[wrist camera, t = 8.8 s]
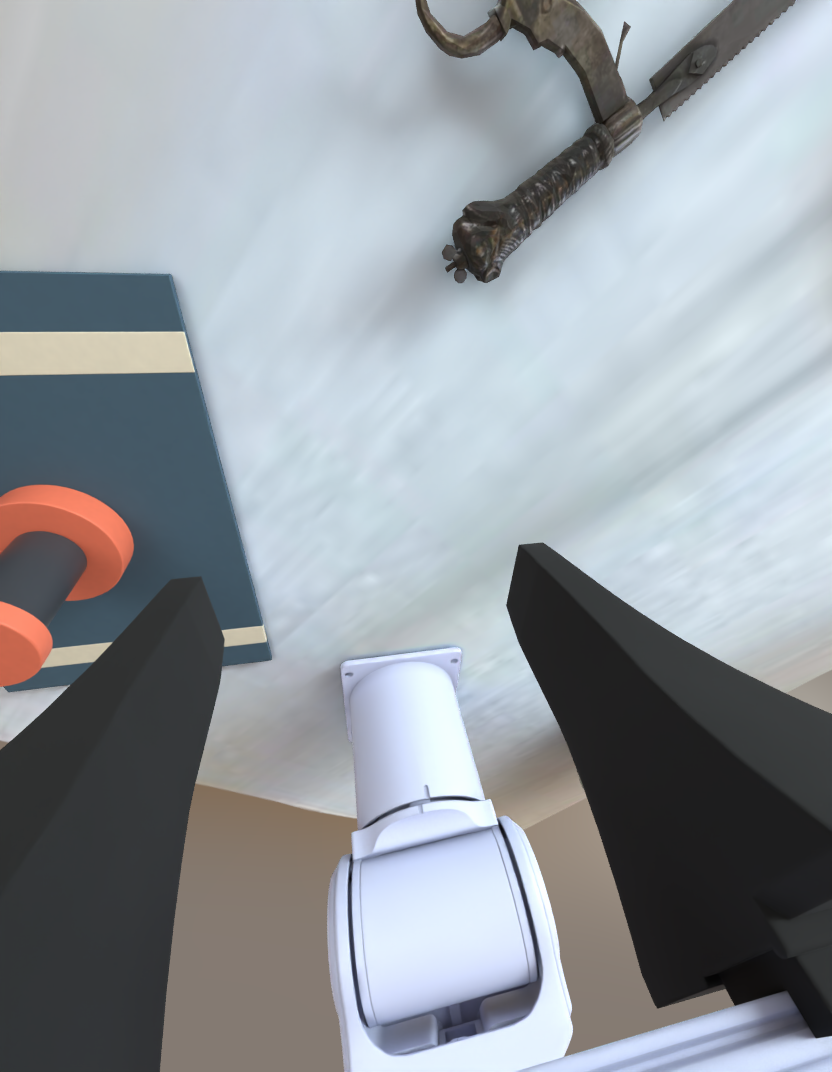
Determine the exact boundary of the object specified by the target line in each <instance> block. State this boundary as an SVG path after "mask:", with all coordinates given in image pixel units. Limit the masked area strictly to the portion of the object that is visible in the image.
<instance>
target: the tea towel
mask: <svg viewBox="0 0 832 1072" xmlns="http://www.w3.org/2000/svg"><path fill="white" fill-rule="evenodd" d="M30 485H55V486H61V487H67V488H70V489H74V490H77V491H80V492H83V493H85V494H88V495H90V496H92V497H94V498H96V499H98V500H99V501H101V502H103V503H104V504H106V505H107V506H109V507H110V508H111V509H112V510H114V511H115V512H116V513H117V514H118V515H119V516H120V517H121V518H122V519H123V521H124V522H125V523H126V525H127V526H128V528H129V530H130V532H131V535H132V538H133V543H134V551H133V555H132V558H131V560H130V562H129V564H128V566H127V567H126V569H125V571H124V573H123V575H122V577H121V578H120V580H119V581H118V583H117V584H116V585H115V586H114V587H113V588H112V589H110V590H109V591H107V592H105V593H103V594H101V595H99V596H96V597H93V598H89V599H84V600H75V601H64V603H63V604H62V606H61V607H60V609H59V610H58V612H57V614H56V615H55V617H54V618H53V620H52V621H51V623H50V624H49V626H48V627H47V629H48V630H49V632H50V634H51V637H52V641H53V646H52V650H51V652H50V654H49V656H48V657H47V659H46V661H45V662H44V664H43V665H42V667H41V669H40V670H39V671H38V672H37V673H36V674H35V675H34V676H33V677H31V678H30V679H28V680H26V681H24V682H21V683H18V684H14V685H9V686H3V687H4V688H5V689H6V690H7V691H8V692H15V691H23V690H31V689H39V688H47V687H56V686H64V685H71V684H72V683H73V682H74V681H75V680H76V679H77V678H78V677H79V676H80V675H82V674H83V673H84V672H85V671H86V670H87V669H88V668H89V667H90V666H91V665H92V664H93V663H94V662H95V661H96V660H97V658H98V657H99V656H100V655H101V654H102V653H103V652H104V651H105V650H106V649H107V648H108V647H109V646H110V645H111V644H112V643H113V642H114V640H115V639H116V638H117V637H118V636H119V635H120V634H121V633H122V632H123V631H124V630H125V629H126V628H127V626H128V625H129V624H130V623H131V622H132V621H133V620H134V619H135V618H136V617H137V616H138V614H139V613H140V612H141V611H142V610H143V609H144V608H145V607H146V606H147V605H148V603H149V602H150V601H151V600H152V599H153V598H154V597H155V596H156V595H157V594H158V592H159V591H160V590H161V589H162V588H163V587H164V586H165V585H166V584H167V583H168V582H169V581H170V580H171V579H178V578H188V577H199V576H201V577H202V580H203V582H204V585H205V588H206V590H207V593H208V596H209V598H210V601H211V604H212V606H213V609H214V612H215V614H216V617H217V620H218V622H219V625H220V628H221V630H222V633H223V636H224V638H225V643H224V653H223V663H222V666H228V665H237V664H245V663H253V662H261V661H269V660H272V655H271V652H270V648H269V644H268V640H267V636H266V632H265V629H264V625H263V621H262V617H261V613H260V610H259V606H258V602H257V598H256V594H255V591H254V587H253V583H252V579H251V575H250V572H249V568H248V564H247V560H246V556H245V553H244V549H243V545H242V541H241V537H240V534H239V530H238V526H237V522H236V518H235V515H234V511H233V507H232V503H231V499H230V496H229V492H228V488H227V484H226V480H225V477H224V473H223V469H222V465H221V461H220V458H219V454H218V450H217V446H216V442H215V439H214V435H213V431H212V427H211V423H210V420H209V416H208V412H207V408H206V404H205V401H204V397H203V393H202V389H201V385H200V382H199V378H198V374H197V370H196V366H195V363H194V359H193V355H192V351H191V347H190V344H189V340H188V336H187V332H186V328H185V325H184V321H183V317H182V313H181V309H180V306H179V302H178V298H177V294H176V290H175V287H174V283H173V279H172V275H171V274H140V273H85V272H31V271H0V497H1V496H3V495H4V494H5V493H7V492H9V491H11V490H14V489H16V488H20V487H24V486H30Z"/></svg>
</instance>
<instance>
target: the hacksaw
mask: <svg viewBox="0 0 832 1072" xmlns="http://www.w3.org/2000/svg"><path fill="white" fill-rule="evenodd" d="M415 1H416V7H417V14H418V16H419V18H420V20H421V23H422V25H423V27H424V29H425V31H426V33H427V34H428V35H429V36H430V38H431V39H432V40H433V41H434V43H435V44H436V45H437V46H438V47H439V48H440V49H441V50H442V51H444V52H445V53H446V54H448V55H449V56H452V57H457V58H467V57H472V56H477V55H480V54H482V53H483V52H484V51H486V50H487V49H489V48H490V47H491V46H493V45H494V44H496V43H497V42H498V41H499V40H500V41H502V39H503V38H504V37H505V36H506V35H507V33H508V30H509V29H511V28H514V29H516V30H518V31H519V32H521V33H523V34H524V35H525V36H526V38H527V40H528V41H529V43H530V45H531V47H532V48H533V50H535V49H537V48H539V47H541V46H542V47H544V48H546V49H548V50H550V51H552V52H554V53H555V54H556V55H557V57H558V58H560V57H561V56H562V55H563V56H564V57H565V58H566V60H567V61H568V62H569V64H570V65H571V66H572V68H573V69H574V70H575V72H576V73H577V75H578V77H579V78H580V81H581V84H582V86H583V89H584V92H585V95H586V97H587V100H588V103H589V105H590V108H591V111H592V113H593V116H594V119H595V122H596V123H595V124H593V125H592V126H591V127H589V128H588V129H587V130H586V132H585V134H584V136H583V137H582V138H580V139H579V140H577V141H576V142H574V143H573V144H572V146H570V147H568V148H567V149H565V150H564V151H563V152H562V153H561V154H560V155H559V156H558V157H556V158H554V159H553V160H552V161H550V162H549V163H548V164H547V165H546V166H544V167H543V168H542V169H540V170H538V172H537V173H536V174H535V175H533V176H532V177H530V178H529V179H527V180H526V181H524V182H523V183H522V184H521V185H519V186H518V188H517V189H516V190H515V191H514V192H512V193H511V194H509V195H508V196H506V197H505V198H503V199H500V200H496V201H474V202H472V203H470V204H468V205H467V206H466V207H465V208H464V209H463V210H462V211H463V216H462V217H461V218H459V219H458V220H457V221H456V222H455V223H454V224H453V231H452V236H453V240H454V244H455V248H456V250H457V251H456V250H455V249H454V247H453V246H452V245H446V246H445V248H444V249H443V251H442V254H443V258H444V259H446V260H449V261H451V260H452V259H453V261H454V262H453V263H451V264H450V265H448V266H447V267H445V269H446V271H447V272H449V271H450V270H452V269H453V268H455V267H456V268H457V270H456V271H455V274H454V278H455V281H457V282H458V283H463V282H464V281H465V279H466V276H467V272H466V271H465V268H467V269H468V271H469V272H471V273H472V274H474V275H475V277H476V279H477V280H478V281H482V282H484V283H488V282H490V281H492V280H494V279H495V278H497V277H499V275H500V272H501V267H502V264H503V262H504V260H505V259H506V258H507V257H508V256H509V255H510V254H511V253H512V252H513V251H514V250H516V249H517V248H518V246H519V245H520V244H521V243H522V242H523V241H524V240H525V239H526V238H527V237H529V236H530V235H531V233H532V231H533V230H535V229H537V228H538V227H540V226H541V224H542V222H543V221H545V220H546V219H547V218H548V217H550V216H551V215H552V214H553V212H554V211H555V210H556V209H557V208H558V207H559V206H560V205H562V203H563V202H564V201H565V200H566V199H568V198H569V197H570V196H571V195H573V194H574V193H575V192H577V190H578V189H579V188H580V187H581V186H582V185H583V184H584V183H586V182H587V181H588V180H589V179H590V178H591V177H593V176H594V175H595V174H596V173H597V172H598V170H602V169H604V168H605V167H607V166H608V165H609V163H610V162H611V160H612V158H613V157H615V156H616V155H617V154H619V153H620V152H621V151H623V150H624V149H625V148H626V147H627V146H629V145H630V144H631V143H632V142H633V141H634V140H635V139H636V138H637V137H638V136H639V134H640V132H641V129H642V124H643V119H644V118H645V117H646V116H647V115H648V114H649V113H651V112H652V111H653V110H654V109H655V108H656V107H657V106H659V109H660V112H661V115H662V118H663V120H664V121H665V119H666V117H670V115H671V113H672V111H676V110H677V108H678V106H682V105H683V103H684V101H685V100H688V99H689V97H690V95H694V94H695V92H696V90H697V89H701V87H702V85H703V84H704V83H707V82H708V80H709V78H713V77H714V75H715V73H716V72H720V70H721V68H722V66H726V65H727V63H728V61H730V60H733V58H734V56H735V55H738V54H739V53H740V51H741V49H745V48H746V46H747V44H748V43H752V42H753V40H754V38H755V37H759V35H760V33H761V31H765V30H766V28H767V26H768V25H772V24H773V22H774V19H776V18H779V17H780V15H781V13H782V12H786V10H787V8H788V7H789V6H793V4H794V2H795V1H796V0H734V1H732V2H731V3H730V4H729V5H728V6H727V7H726V8H725V9H724V10H723V11H722V12H721V13H720V14H719V15H718V16H716V17H715V18H714V19H713V20H712V21H711V22H710V23H709V24H708V25H707V26H706V27H705V28H704V29H703V30H702V31H700V32H699V33H698V34H697V35H696V36H695V37H694V38H693V39H692V40H691V41H690V42H689V43H688V44H687V45H686V46H684V47H683V48H682V49H681V50H680V51H679V52H678V53H677V54H676V55H675V56H674V57H673V58H672V59H671V60H670V61H668V62H667V63H666V64H665V65H664V66H663V67H662V68H661V69H660V70H659V71H658V72H657V73H656V74H655V75H654V76H652V77H651V78H650V79H649V80H650V83H651V86H652V89H653V92H652V93H651V94H650V95H649V96H648V97H647V98H646V99H645V100H643V101H642V102H641V103H639V104H638V105H636V104H635V102H634V101H633V100H632V99H631V98H629V97H627V95H626V91H625V88H624V85H623V82H622V79H621V77H620V76H619V73H618V71H617V69H618V64H619V59H620V54H621V48H622V43H623V40H624V39H625V37H626V35H627V33H628V31H629V29H630V26H629V25H628V24H627V23H626V22H625V21H624V25H623V30H622V34H621V39H620V44H619V49H618V53H617V58H616V63H614V61H613V58H612V55H611V53H610V50H609V48H608V45H607V43H606V40H605V38H604V35H603V33H602V30H601V29H600V27H599V26H598V25H597V24H596V23H595V21H594V20H593V19H592V18H591V17H590V15H589V14H588V13H587V12H586V11H585V9H584V8H583V7H582V6H581V5H580V4H579V3H578V2H577V1H576V0H498V3H497V5H496V6H495V7H494V8H493V9H491V10H490V11H489V12H487V13H488V16H489V18H490V19H489V20H488V21H487V23H485V24H483V25H482V26H480V27H478V28H477V29H475V30H474V31H472V32H470V33H469V34H467V35H465V36H461V35H457V34H453V33H450V32H447V31H446V30H445V29H444V28H443V27H442V25H441V24H440V23H439V22H438V21H437V20H436V19H435V18H434V17H433V16H432V15H431V13H430V10H429V7H428V4H427V1H426V0H415Z"/></svg>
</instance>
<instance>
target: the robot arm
mask: <svg viewBox="0 0 832 1072" xmlns="http://www.w3.org/2000/svg"><path fill="white" fill-rule="evenodd" d="M506 606H507V609H508V612H509V615H510V618H511V621H512V624H513V627H514V630H515V633H516V636H517V639H518V642H519V644H520V646H521V648H522V650H523V652H524V655H525V657H526V659H527V661H528V663H529V665H530V667H531V669H532V671H533V673H534V675H535V677H536V679H537V681H538V683H539V685H540V687H541V690H542V692H543V694H544V696H545V698H546V700H547V702H548V704H549V706H550V708H551V710H552V712H553V714H554V716H555V718H556V720H557V722H558V724H559V726H560V729H561V731H562V733H563V735H564V738H565V740H566V742H567V745H568V747H569V750H570V753H571V755H572V758H573V761H574V763H575V766H576V769H577V771H578V774H579V777H580V779H581V782H582V785H583V787H584V790H585V793H586V796H587V799H588V802H589V804H590V807H591V810H592V813H593V816H594V818H595V822H596V824H597V827H598V830H599V833H600V836H601V839H602V842H603V845H604V849H605V852H606V855H607V858H608V861H609V864H610V867H611V870H612V873H613V876H614V879H615V883H616V886H617V889H618V893H619V896H620V900H621V903H622V906H623V910H624V913H625V917H626V920H627V923H628V926H629V930H630V933H631V937H632V940H633V944H634V948H635V951H636V955H637V959H638V962H639V966H640V969H641V973H642V976H643V978H644V980H645V983H646V985H647V988H648V990H649V992H650V994H651V997H652V999H653V1002H654V1004H655V1006H656V1007H657V1008H661V1007H665V1006H668V1005H671V1004H675V1003H678V1002H682V1001H685V1000H689V999H692V998H696V997H699V996H702V995H705V994H709V993H713V992H716V991H720V990H723V989H726V990H727V992H728V994H729V996H730V997H731V999H732V1001H733V1003H734V1005H735V1006H733V1007H730V1008H726V1009H723V1010H720V1011H717V1012H713V1013H710V1014H706V1015H703V1016H700V1017H697V1018H693V1019H690V1020H686V1021H683V1022H679V1023H677V1024H673V1025H670V1026H666V1027H663V1028H659V1029H656V1030H653V1031H649V1032H646V1033H643V1034H639V1035H636V1036H633V1037H629V1038H626V1039H623V1040H619V1041H616V1042H612V1043H609V1044H606V1045H602V1046H599V1047H596V1048H592V1049H589V1050H586V1051H582V1052H579V1053H576V1054H572V1055H569V1056H566V1057H564V1055H565V1052H566V1050H567V1048H568V1045H569V1042H570V1039H571V1036H572V1032H573V1027H572V1023H571V1019H570V1015H571V1011H572V1005H571V1001H570V997H569V993H568V990H567V986H566V982H565V978H564V974H563V970H562V965H561V961H560V957H559V956H560V951H559V942H558V936H557V932H556V926H555V922H554V917H553V913H552V909H551V906H550V902H549V898H548V895H547V891H546V888H545V885H544V882H543V878H542V876H541V872H540V869H539V866H538V864H537V861H536V858H535V856H534V853H533V850H532V848H531V846H530V843H529V841H528V839H527V837H526V835H525V833H524V831H523V830H522V828H521V827H520V826H518V825H517V824H516V823H514V822H513V821H512V820H511V819H510V818H509V817H508V816H502V817H499V818H496V815H495V811H494V808H493V804H492V801H491V800H490V799H487V800H485V797H484V794H483V790H482V786H481V783H480V779H479V776H478V772H477V769H476V765H475V762H474V758H473V755H472V751H471V748H470V744H469V741H468V737H467V733H466V730H465V726H464V723H463V719H462V716H461V712H460V709H459V705H458V702H457V698H456V691H457V684H458V678H459V671H460V665H461V658H462V653H461V650H460V649H459V648H457V647H453V648H445V649H437V650H429V651H421V652H413V653H405V654H397V655H389V656H381V657H373V658H365V659H357V660H349V661H345V662H343V663H342V664H341V666H340V671H341V680H342V688H343V697H344V705H345V714H346V723H347V731H348V740H349V741H350V742H351V743H353V757H354V773H355V790H356V806H357V821H358V831H355V832H352V834H351V836H352V854H347V855H343V856H342V857H341V858H340V860H339V863H338V866H337V867H336V869H335V871H334V872H333V874H332V877H331V880H330V885H329V893H328V910H327V938H328V957H329V969H330V979H331V986H332V993H333V998H334V1003H335V1007H336V1011H337V1014H338V1016H339V1023H340V1031H341V1040H342V1050H343V1060H344V1071H345V1072H832V714H831V713H828V712H826V711H824V710H821V709H819V708H816V707H814V706H812V705H809V704H808V703H805V702H803V701H801V700H799V699H796V698H794V697H792V696H790V695H788V694H786V693H783V692H781V691H779V690H777V689H775V688H773V687H771V686H769V685H767V684H765V683H763V682H761V681H759V680H757V679H755V678H753V677H751V676H749V675H747V674H745V673H743V672H741V671H739V670H737V669H735V668H733V667H731V666H729V665H727V664H725V663H724V662H722V661H720V660H718V659H716V658H714V657H713V656H711V655H709V654H707V653H706V652H704V651H702V650H700V649H698V648H697V647H695V646H693V645H691V644H690V643H688V642H686V641H684V640H683V639H681V638H679V637H678V636H676V635H674V634H673V633H671V632H669V631H668V630H666V629H665V628H663V627H662V626H660V625H658V624H657V623H655V622H654V621H652V620H651V619H649V618H648V617H646V616H645V615H643V614H642V613H640V612H638V611H637V610H635V609H634V608H633V607H631V606H630V605H628V604H627V603H625V602H624V601H622V600H621V599H620V598H618V597H617V596H615V595H614V594H612V593H611V592H610V591H608V590H607V589H606V588H604V587H603V586H601V585H600V584H599V583H597V582H596V581H595V580H593V579H592V578H590V577H589V576H588V575H586V574H585V573H584V572H582V571H581V570H580V569H578V568H577V567H576V566H574V565H573V564H572V563H570V562H569V561H568V560H566V559H565V558H564V557H562V556H561V555H560V554H558V553H557V552H556V551H554V550H553V549H551V548H550V547H548V546H547V545H546V544H544V543H534V544H524V545H519V547H518V552H517V556H516V561H515V566H514V571H513V576H512V580H511V585H510V590H509V595H508V600H507V604H506ZM224 643H225V638H224V636H223V633H222V630H221V628H220V625H219V622H218V620H217V617H216V614H215V612H214V609H213V606H212V604H211V601H210V598H209V596H208V593H207V590H206V588H205V585H204V582H203V580H202V577H201V576H199V577H188V578H178V579H171V580H170V581H169V582H168V583H167V584H166V585H165V586H164V587H163V588H162V589H161V590H160V591H159V592H158V594H157V595H156V596H155V597H154V598H153V599H152V600H151V601H150V602H149V603H148V605H147V606H146V607H145V608H144V609H143V610H142V611H141V612H140V613H139V614H138V616H137V617H136V618H135V619H134V620H133V621H132V622H131V623H130V624H129V625H128V626H127V628H126V629H125V630H124V631H123V632H122V633H121V634H120V635H119V636H118V637H117V638H116V639H115V640H114V642H113V643H112V644H111V645H110V646H109V647H108V648H107V649H106V650H105V651H104V652H103V653H102V654H101V655H100V656H99V657H98V658H97V660H96V661H95V662H94V663H93V664H92V665H91V666H90V667H89V668H88V669H87V670H86V671H85V672H84V673H83V674H82V675H80V676H79V677H78V678H77V679H76V680H75V681H74V682H73V683H72V684H71V685H70V686H69V687H68V688H67V689H66V690H65V691H64V692H63V693H62V694H61V695H60V696H59V697H58V698H57V699H56V700H55V701H54V702H53V703H52V704H51V705H50V706H49V707H48V708H47V709H46V710H45V711H44V712H43V713H41V714H40V715H39V716H38V717H37V718H36V719H35V720H34V721H33V722H32V723H31V724H29V725H28V726H27V727H26V728H25V729H24V730H23V731H22V732H21V733H19V734H18V735H17V736H16V737H15V738H14V739H13V740H11V741H10V742H9V743H8V744H7V745H6V746H5V747H3V748H2V749H1V750H0V1072H160V1061H161V1049H162V1038H163V1025H164V1013H165V1002H166V991H167V982H168V972H169V963H170V954H171V944H172V935H173V926H174V918H175V909H176V902H177V894H178V887H179V879H180V871H181V863H182V857H183V850H184V843H185V837H186V830H187V823H188V816H189V810H190V805H191V800H192V796H193V791H194V786H195V782H196V778H197V774H198V770H199V766H200V762H201V758H202V754H203V750H204V746H205V742H206V738H207V734H208V730H209V726H210V722H211V718H212V714H213V710H214V706H215V702H216V697H217V693H218V689H219V685H220V679H221V671H222V663H223V653H224Z"/></svg>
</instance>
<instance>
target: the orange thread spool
mask: <svg viewBox="0 0 832 1072" xmlns="http://www.w3.org/2000/svg"><path fill="white" fill-rule="evenodd" d="M133 551H134V543H133V538H132V535H131V532H130V530H129V528H128V526H127V525H126V523H125V522H124V521H123V519H122V518H121V517H120V516H119V515H118V514H117V513H116V512H115V511H114V510H112V509H111V508H110V507H109V506H107V505H106V504H104V503H103V502H101V501H99V500H98V499H96V498H94V497H92V496H90V495H88V494H85V493H83V492H80V491H77V490H74V489H70V488H67V487H61V486H55V485H30V486H24V487H20V488H16V489H14V490H11V491H9V492H7V493H5V494H4V495H3V496H1V497H0V687H3V686H9V685H14V684H18V683H21V682H24V681H26V680H28V679H30V678H31V677H33V676H34V675H35V674H36V673H37V672H38V671H39V670H40V669H41V667H42V665H43V664H44V662H45V661H46V659H47V657H48V656H49V654H50V652H51V650H52V646H53V641H52V637H51V634H50V632H49V630H48V629H47V627H48V626H49V624H50V623H51V621H52V620H53V618H54V617H55V615H56V614H57V612H58V610H59V609H60V607H61V606H62V604H63V603H64V601H75V600H84V599H89V598H93V597H96V596H99V595H101V594H103V593H105V592H107V591H109V590H110V589H112V588H113V587H114V586H115V585H116V584H117V583H118V581H119V580H120V578H121V577H122V575H123V573H124V571H125V569H126V567H127V566H128V564H129V562H130V560H131V558H132V555H133Z"/></svg>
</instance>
